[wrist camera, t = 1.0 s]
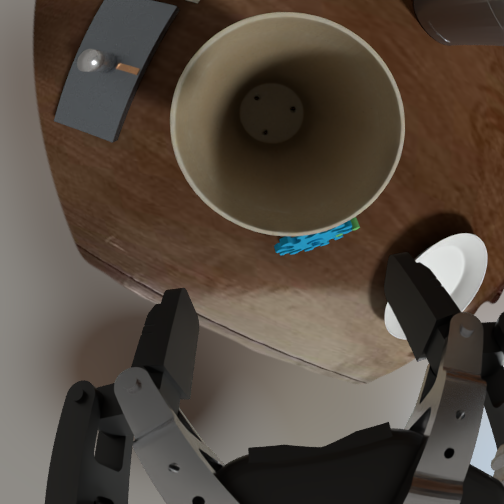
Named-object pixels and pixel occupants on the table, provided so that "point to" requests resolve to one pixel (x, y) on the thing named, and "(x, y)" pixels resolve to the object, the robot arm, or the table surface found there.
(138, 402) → the robot arm
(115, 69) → the panel
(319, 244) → the gear
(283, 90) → the plant pot
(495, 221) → the table surface
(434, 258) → the bowl
